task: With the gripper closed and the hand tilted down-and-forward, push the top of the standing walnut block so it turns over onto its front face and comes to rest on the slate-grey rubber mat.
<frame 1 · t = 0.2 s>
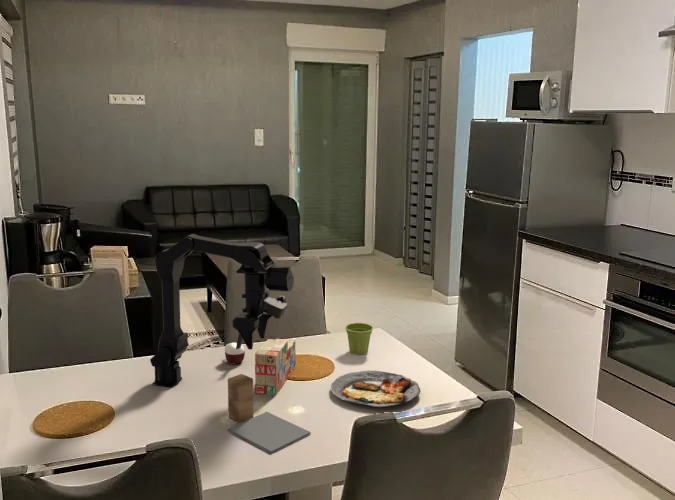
hand: (256, 343, 177), 15 cm above the table, tool pointing down, fingers open, 9 cm apart
cocoa: (235, 362, 202), on the table
stack of blocks: (276, 381, 189), on the table
food plate: (375, 394, 182), on the table
plant pot: (358, 352, 214), on the table
mat: (268, 432, 158), on the table
walnut block: (240, 418, 165), on the table
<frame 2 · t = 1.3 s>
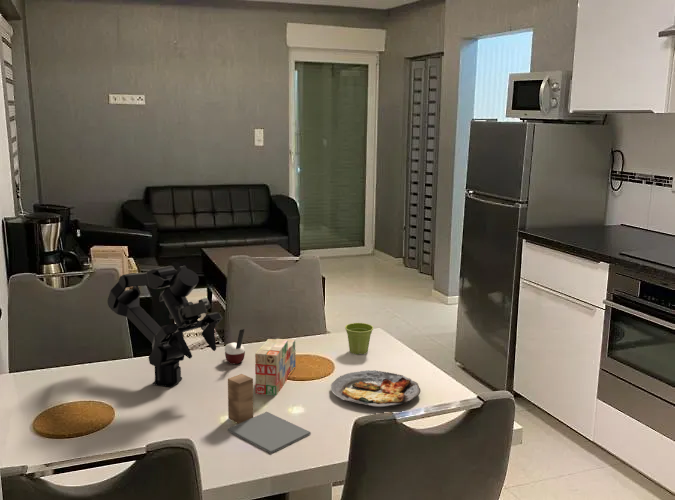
hand: (203, 353, 172), 13 cm above the table, tool tilted 45°, fingers open, 8 cm apart
nothing on the table moved.
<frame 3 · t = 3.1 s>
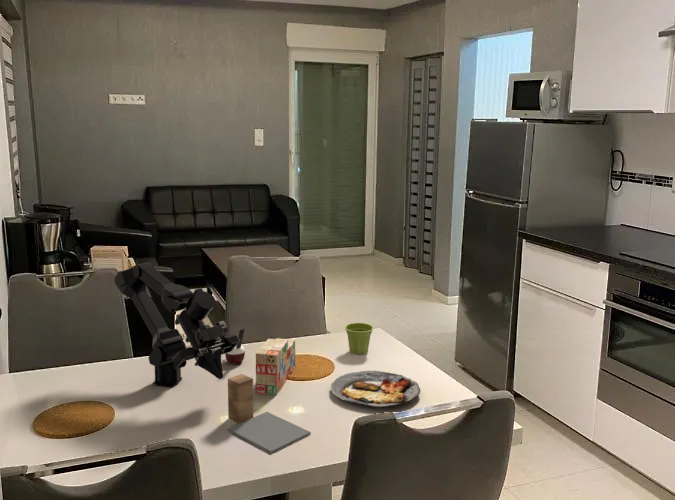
hand: (221, 378, 168), 9 cm above the table, tool tilted 45°, fingers closed
nothing on the table moved.
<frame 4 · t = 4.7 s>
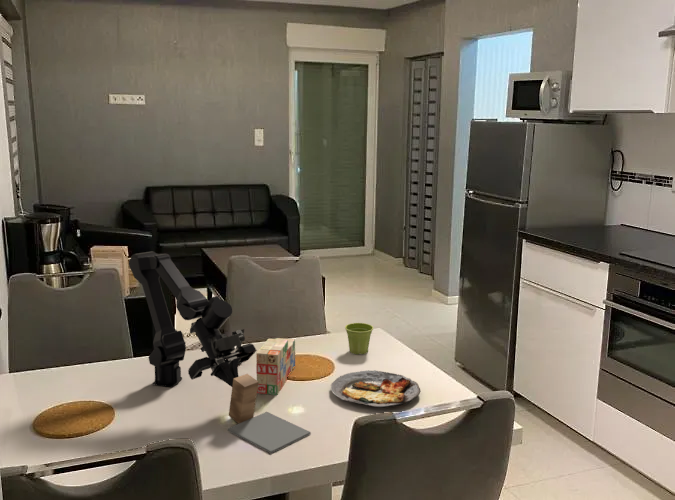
hand: (238, 388, 164), 8 cm above the table, tool tilted 45°, fingers closed
walnut block: (240, 417, 164), on the table, tilted 11°
everything else where it was.
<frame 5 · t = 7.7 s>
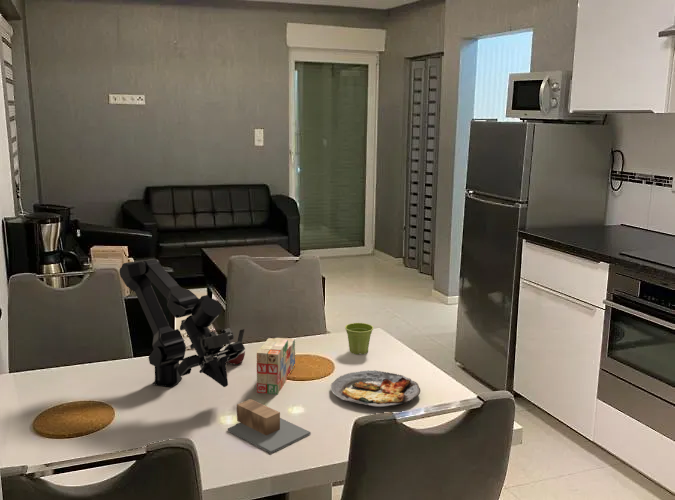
hand: (226, 386, 167), 7 cm above the table, tool tilted 45°, fingers closed
walnut block: (244, 409, 163), point 3 cm above the table, tilted 90°, touching mat
everything else where it was.
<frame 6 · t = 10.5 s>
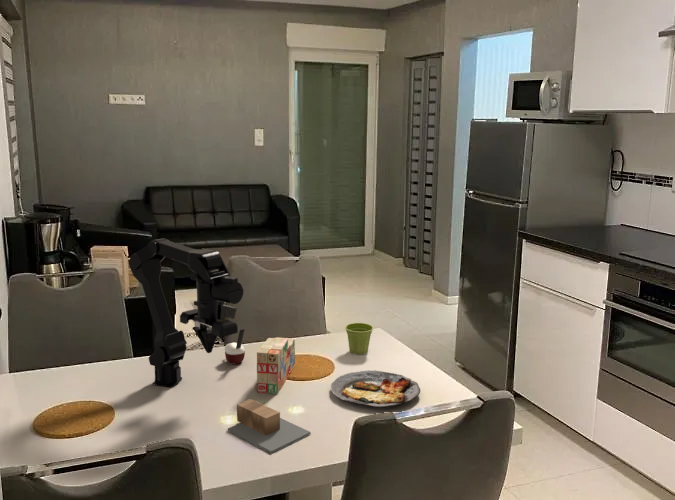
hand: (209, 352, 174), 13 cm above the table, tool pointing down, fingers closed
at the end: walnut block tilted 90°; walnut block inside the target area (8.5 cm from its centre), point 2.8 cm above the table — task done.
